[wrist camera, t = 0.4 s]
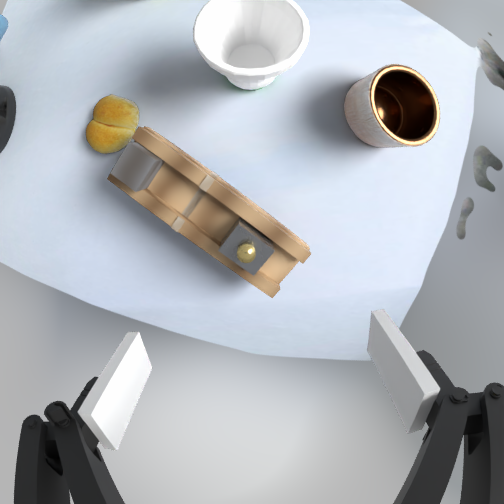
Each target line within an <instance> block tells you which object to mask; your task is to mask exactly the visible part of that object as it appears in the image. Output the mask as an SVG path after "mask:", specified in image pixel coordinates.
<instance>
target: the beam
mask: <svg viewBox="0 0 504 504" xmlns="http://www.w3.org/2000/svg"><path fill="white" fill-rule="evenodd" d="M132 139H134V140H135V141H134V142H129V143H128V144H127V146H126V148H125V149H124V151H123V153H122V154H121V156H120V158H119V159H118V161H117V163H116V164H115V166H114V168H113V169H112V171H111V173H110V174H109V176H108V178H107V179H108V180H109V181H110V182H112V183H113V184H114V185H116V186H117V187H118V188H120V189H121V190H122V191H124V192H125V193H126V194H128V195H129V196H130V197H132V198H133V199H134V200H136V201H137V202H138V203H140V204H141V205H142V206H144V207H145V208H146V209H148V210H149V211H150V212H152V213H153V214H154V215H156V216H157V217H159V218H160V219H161V220H163V221H164V222H165V223H167V224H168V225H169V226H171V228H172V229H173V230H175V231H176V232H179V233H180V234H182V235H183V236H185V237H186V238H187V239H189V240H190V241H192V242H193V243H194V244H196V245H197V246H198V247H200V248H201V249H203V250H204V251H205V252H207V253H208V254H210V255H211V256H212V257H214V258H215V259H217V260H218V261H220V262H221V263H222V264H224V265H225V266H227V267H228V268H229V269H231V270H232V271H234V272H235V273H237V274H238V275H239V276H241V277H242V278H244V279H245V280H247V281H248V282H249V283H251V284H252V285H254V286H255V287H257V288H258V289H260V290H261V291H262V292H264V293H265V294H267V295H268V296H270V297H271V298H273V297H274V296H275V295H276V293H277V292H278V291H279V290H280V286H279V283H280V282H281V281H282V280H283V279H284V278H285V277H286V275H287V274H288V273H289V272H290V271H291V270H292V269H293V267H294V266H295V265H296V264H297V263H298V262H299V261H300V262H301V263H304V262H305V261H306V259H307V258H308V257H309V256H310V255H311V253H310V251H309V249H310V248H309V246H308V245H307V244H306V243H305V242H304V241H303V240H301V239H300V238H299V237H298V236H296V235H295V234H294V233H293V232H291V231H290V230H289V229H287V228H286V227H285V226H284V225H282V224H281V223H280V222H278V221H277V220H276V219H275V218H273V217H272V216H271V215H269V214H268V213H267V212H265V211H264V210H263V209H262V208H260V207H259V206H258V205H256V204H255V203H254V202H252V201H251V200H250V199H248V198H247V197H246V196H244V195H243V194H242V193H240V192H239V191H238V190H236V189H235V188H234V187H232V186H231V185H230V184H228V183H227V182H226V181H224V180H223V179H222V178H220V177H219V175H217V174H216V173H215V172H212V171H211V170H209V169H208V168H206V167H205V166H204V165H202V164H201V163H199V162H198V161H197V160H195V159H194V158H192V157H191V156H190V155H188V154H187V153H185V152H184V151H183V150H181V149H180V148H178V147H177V146H176V145H174V144H173V143H171V142H170V141H168V140H167V139H165V138H164V137H163V136H161V135H160V134H158V133H157V132H155V131H154V130H152V129H151V128H149V127H145V126H144V128H143V127H138V129H137V130H136V132H135V133H134V135H133V136H132ZM239 217H241V218H243V219H244V220H245V221H247V222H248V223H249V224H251V225H252V226H254V227H255V228H256V229H258V230H259V231H260V232H262V233H263V234H264V235H265V236H267V237H268V238H269V239H271V240H272V242H273V246H274V250H275V251H274V253H273V254H272V255H271V256H270V257H269V259H268V260H267V261H266V262H265V263H264V264H263V266H262V267H261V268H260V269H259V270H258V272H257V273H256V274H255V275H254V276H253V275H252V274H250V273H249V272H247V271H246V270H245V269H243V268H242V267H240V266H239V265H238V264H236V263H235V262H233V261H232V260H230V259H229V258H228V257H226V256H225V255H223V254H222V253H221V252H219V251H218V249H219V247H220V244H221V241H222V239H223V238H224V237H225V235H226V234H227V233H228V231H229V230H230V229H231V227H232V226H233V225H234V224H235V222H236V221H237V220H238V218H239Z"/></svg>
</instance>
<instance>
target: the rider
mask: <svg viewBox="0 0 504 504" xmlns="http://www.w3.org/2000/svg"><path fill="white" fill-rule="evenodd" d="M218 251H219V252H221V253H222V254H223V255H225V256H226V257H228V258H229V259H230V260H232V261H233V262H235V263H236V264H238V265H239V266H240V267H242V268H243V269H245V270H246V271H247V272H249V273H250V274H252V275H253V276H254V275H255V274H256V273H257V272H258V270H259V269H260V268H261V267H262V266H263V264H264V263H265V262H266V261H267V260H268V259H269V257H270V256H271V255H272V254H273V253H274V251H275V250H274V246H273V242H272V240H271V239H269V238H268V237H267V236H265V235H264V234H263V233H262V232H260V231H259V230H258V229H256V228H255V227H254V226H252V225H251V224H249V223H248V222H247V221H245V220H244V219H243V218H241V217H239V218H238V220H237V221H236V222H235V224H234V225H233V226H232V227H231V229H230V230H229V231H228V233H227V234H226V235H225V237H224V238H223V239H222V241H221V244H220V247H219V249H218Z"/></svg>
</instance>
